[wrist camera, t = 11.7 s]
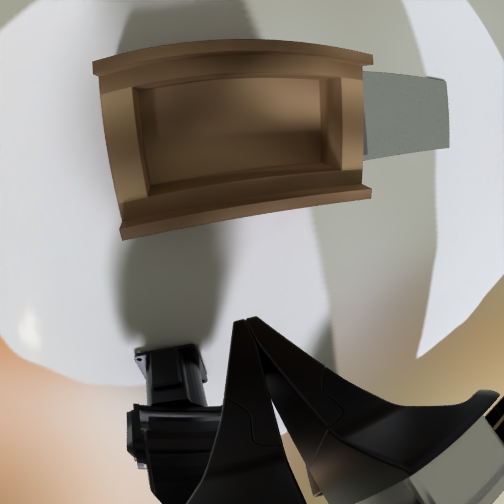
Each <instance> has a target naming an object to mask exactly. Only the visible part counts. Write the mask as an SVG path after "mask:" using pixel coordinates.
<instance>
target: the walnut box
mask: <svg viewBox="0 0 504 504" xmlns="http://www.w3.org/2000/svg"><path fill="white" fill-rule="evenodd" d="M92 63H93V74H94V75H96V76H98V77H99V87H100V99H101V108H102V117H103V125H104V132H105V139H106V145H107V151H108V157H109V163H110V168H111V173H112V178H113V183H114V188H115V193H116V197H117V201H118V206H119V210H120V214H121V218H122V223H121V226H120V229H119V230H120V234H121V237H122V241H123V240H128V239H132V238H137V237H142V236H147V235H152V234H156V233H161V232H166V231H171V230H176V229H182V228H187V227H192V226H197V225H203V224H208V223H214V222H219V221H225V220H230V219H236V218H242V217H248V216H254V215H260V214H266V213H272V212H278V211H285V210H291V209H298V208H305V207H311V206H318V205H324V204H332V203H340V202H347V201H355V200H362V199H371V193H372V189H371V188H369V187H367V186H365V185H363V184H362V169H363V144H364V96H363V72H362V66H364V65H373V55H371V54H366V53H362V52H358V51H353V50H349V49H343V48H338V47H332V46H326V45H320V44H311V43H304V42H294V41H282V40H263V39H225V40H207V41H195V42H185V43H177V44H169V45H163V46H157V47H151V48H146V49H141V50H136V51H131V52H127V53H122V54H118V55H114V56H111V57H107V58H103V59H100V60H97V61H93V62H92Z"/></svg>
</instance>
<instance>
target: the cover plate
mask: <svg viewBox="0 0 504 504" xmlns="http://www.w3.org/2000/svg"><path fill="white" fill-rule="evenodd" d="M362 72H363V96H364V144H363V161H364V160H369V159H375V158H381V157H387V156H393V155H400V154H406V153H413V152H420V151H427V150H435V149H443V148H449V110H448V96H447V85H446V81H441V80H436V79H430V78H424V77H417V76H410V75H402V74H393V73H381V72H365V71H362Z"/></svg>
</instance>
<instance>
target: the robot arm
mask: <svg viewBox="0 0 504 504" xmlns="http://www.w3.org/2000/svg"><path fill="white" fill-rule="evenodd" d="M135 361H136V363H137V365H138V367H139V368H140V370H141V372H142V374H143V375H144V377H145V379H146V387H147V405H139V404H133V406H134V410H132V411H130V412H127V451H128V452H129V453H130V454H131V455H132V456H133V457H134V460H135V461H137V465H138V469H147V472H148V479H149V484H150V488H151V491H152V493H153V494H154V495H155V496H156V497H157V499H158V500H159V501H160V502H161V503H162V504H307V503H306V501H305V499H304V496H303V494H302V492H301V490H300V488H299V486H298V483H297V481H296V479H295V477H294V474H293V472H292V470H291V467H290V465H289V463H288V460H287V457H286V454H285V451H284V447H283V443H282V439H281V436H280V432H279V428H278V424H277V421H276V417H275V413H274V409H273V405H272V402H273V404H274V406H275V408H276V409H277V411H278V413H279V415H280V417H281V419H282V421H283V423H284V425H285V427H286V429H287V431H288V432H289V434H290V436H291V438H292V440H293V442H294V444H295V445H296V447H297V449H298V451H299V453H300V454H301V456H302V458H303V460H304V462H305V464H306V465H307V467H308V468H309V471H310V473H311V474H312V476H313V478H314V480H315V481H316V483H317V485H318V487H319V488H320V490H321V492H322V493H323V495H324V497H325V498H326V500H327V501H328V503H329V504H356V503H357V504H492V503H493V502H494V501H495V500H496V499H497V498H498V497H499V495H500V494H501V493H502V492H503V491H504V396H503V397H502V398H501V399H500V400H499V402H498V403H497V404H496V405H495V406H494V407H493V408H492V409H491V410H490V411H489V412H488V413H487V414H486V416H485V417H484V416H483V414H484V413H485V412H486V411H487V410H488V408H490V406H491V405H492V404H493V403H494V402H495V401H496V400H497V398H498V397H499V396H500V394H499V393H497V392H495V391H491V390H478V391H477V392H476V393H475V394H474V395H473V396H472V397H471V398H470V399H468V400H467V401H465V402H463V403H460V404H456V405H444V406H402V405H397V404H394V403H391V402H388V401H386V400H384V399H382V398H379V397H378V396H376V395H373V394H372V393H369V392H367V391H365V390H363V389H361V388H360V387H358V386H356V385H354V384H352V383H350V382H348V381H347V380H345V379H343V378H342V377H340V376H339V375H337V374H336V373H334V372H333V371H331V370H330V369H328V368H327V367H326V368H325V366H324V365H323V364H321V363H320V362H318V361H317V360H315V359H314V358H313V357H311V356H310V355H308V354H307V353H306V352H304V351H303V350H302V349H300V348H299V347H297V346H296V345H295V344H293V343H292V342H291V341H289V340H288V339H286V338H285V337H284V336H282V335H281V334H280V333H278V332H277V331H276V330H274V329H273V328H272V327H270V326H269V325H268V324H266V323H265V322H264V321H262V320H261V319H260V318H258V317H256V316H255V317H250V318H247V319H246V320H244V319H242V320H238V321H234V323H233V330H232V337H231V345H230V353H229V361H228V368H227V376H226V384H225V392H224V399H223V405H221V406H210V407H208V406H207V402H206V397H205V393H204V388H203V383H206V382H207V376H206V373H205V370H204V367H203V364H202V361H201V358H200V355H199V352H198V348H197V346H196V345H195V344H189V345H184V346H178V347H173V348H167V349H162V350H156V351H150V352H144V353H138V354H135ZM271 400H272V401H271Z"/></svg>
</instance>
